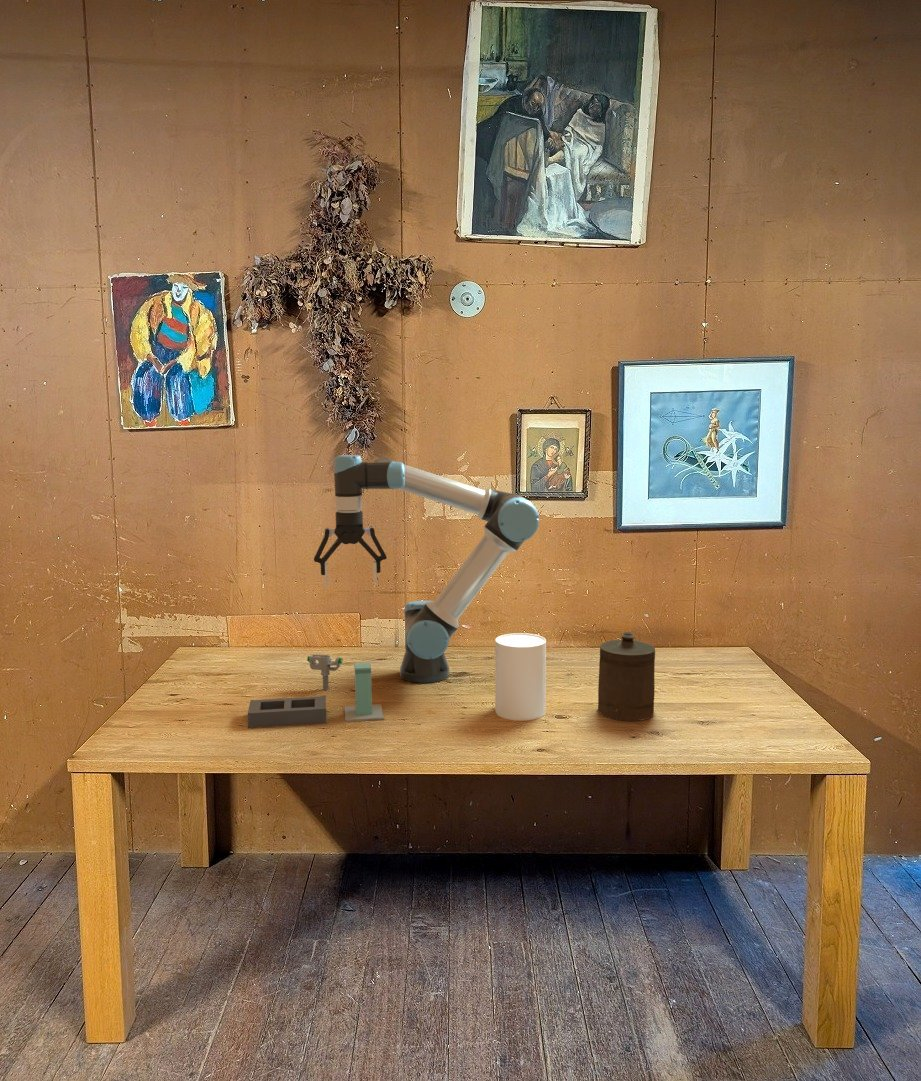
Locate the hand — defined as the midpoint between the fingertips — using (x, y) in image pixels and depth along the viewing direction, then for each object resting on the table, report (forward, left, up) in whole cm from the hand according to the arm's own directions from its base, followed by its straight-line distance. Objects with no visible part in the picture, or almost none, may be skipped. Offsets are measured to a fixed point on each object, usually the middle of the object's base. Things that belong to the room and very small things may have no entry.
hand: (351, 585), depth 249 cm
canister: (-44, +23, -32) cm, 59 cm away
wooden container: (-72, +28, -32) cm, 84 cm away
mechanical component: (+8, -4, -32) cm, 33 cm away
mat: (-2, +18, -32) cm, 36 cm away
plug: (-2, +18, -31) cm, 36 cm away
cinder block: (+18, +18, -32) cm, 41 cm away
